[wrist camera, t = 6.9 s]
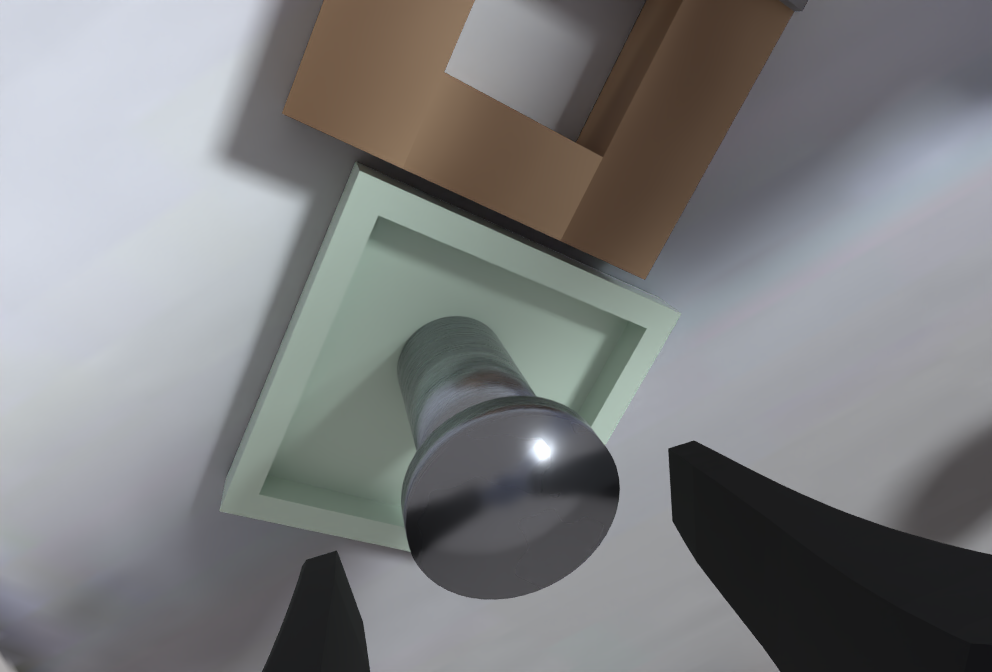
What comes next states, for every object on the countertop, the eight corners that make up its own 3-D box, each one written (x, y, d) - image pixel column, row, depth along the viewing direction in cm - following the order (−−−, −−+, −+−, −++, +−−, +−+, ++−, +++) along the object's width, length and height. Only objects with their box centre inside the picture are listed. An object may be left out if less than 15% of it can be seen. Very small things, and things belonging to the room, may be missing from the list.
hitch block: (777, -45, 17) (839, -57, 15) (614, 259, 20) (649, 283, 18) (439, -311, 13) (463, -375, 11) (284, 106, 16) (280, 114, 14)
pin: (537, 303, 19) (643, 419, 13) (509, 434, 20) (592, 594, 14) (385, 288, 18) (423, 411, 12) (367, 430, 19) (392, 604, 13)
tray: (657, 296, 20) (681, 313, 19) (516, 546, 23) (529, 576, 22) (355, 161, 17) (360, 170, 15) (225, 479, 19) (219, 511, 18)
